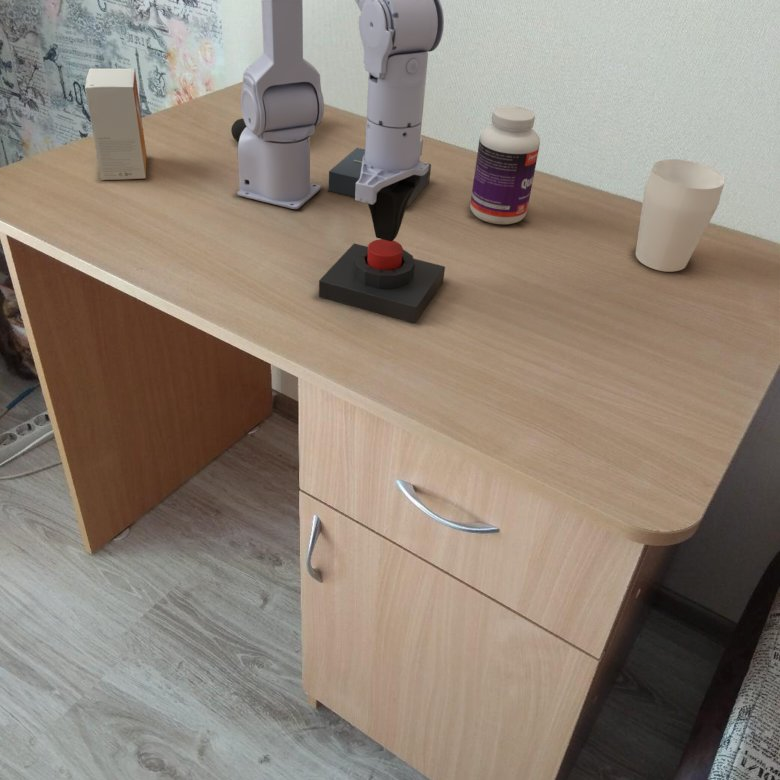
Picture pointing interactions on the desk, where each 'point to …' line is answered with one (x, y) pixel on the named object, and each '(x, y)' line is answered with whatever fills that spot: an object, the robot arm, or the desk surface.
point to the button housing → (382, 284)
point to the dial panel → (349, 174)
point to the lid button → (384, 254)
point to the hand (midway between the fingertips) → (386, 237)
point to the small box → (116, 123)
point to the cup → (676, 212)
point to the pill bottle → (505, 166)
